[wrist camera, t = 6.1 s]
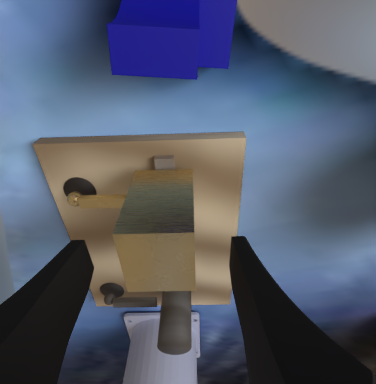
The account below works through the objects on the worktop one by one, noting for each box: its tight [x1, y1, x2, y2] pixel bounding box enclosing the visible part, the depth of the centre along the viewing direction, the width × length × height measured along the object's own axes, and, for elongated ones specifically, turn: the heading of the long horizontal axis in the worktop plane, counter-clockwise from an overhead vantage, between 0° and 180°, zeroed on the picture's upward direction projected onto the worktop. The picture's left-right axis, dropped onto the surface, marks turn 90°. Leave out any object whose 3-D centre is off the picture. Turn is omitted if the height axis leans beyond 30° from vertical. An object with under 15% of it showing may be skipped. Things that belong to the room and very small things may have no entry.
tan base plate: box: [33, 132, 246, 355], centre depth 18 cm, size 17×13×6 cm
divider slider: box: [67, 169, 196, 292], centre depth 15 cm, size 4×8×6 cm, turn 92°
